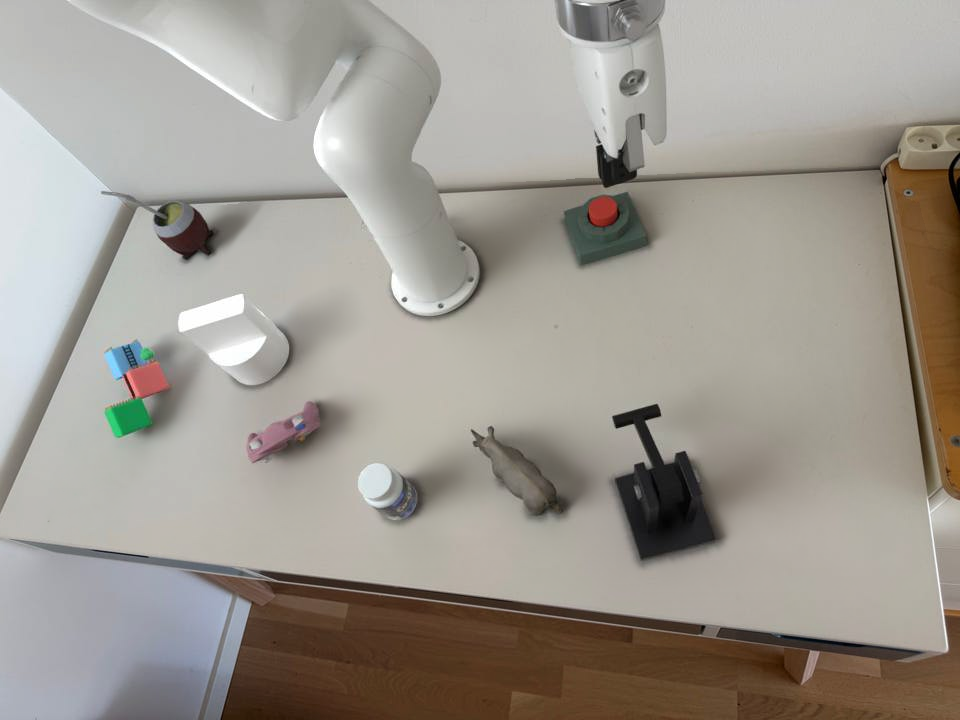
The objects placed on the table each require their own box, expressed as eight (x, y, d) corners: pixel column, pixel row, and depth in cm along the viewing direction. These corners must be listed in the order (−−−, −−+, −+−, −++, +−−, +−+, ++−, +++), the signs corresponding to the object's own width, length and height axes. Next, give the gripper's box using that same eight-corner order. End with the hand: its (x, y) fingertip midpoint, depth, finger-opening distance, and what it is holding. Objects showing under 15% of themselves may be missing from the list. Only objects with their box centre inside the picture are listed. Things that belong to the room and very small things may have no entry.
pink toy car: (266, 466, 85) (247, 471, 78) (249, 435, 86) (229, 438, 79) (332, 428, 86) (319, 430, 79) (315, 398, 86) (301, 397, 79)
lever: (613, 425, 72) (610, 410, 70) (658, 413, 71) (655, 397, 70) (647, 510, 62) (643, 494, 60) (699, 496, 61) (696, 480, 60)
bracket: (614, 481, 73) (610, 446, 63) (684, 462, 72) (692, 423, 62) (640, 561, 69) (640, 537, 59) (715, 542, 68) (728, 514, 58)
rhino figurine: (490, 425, 80) (480, 406, 74) (570, 504, 73) (565, 489, 68) (465, 448, 79) (453, 430, 74) (544, 530, 72) (537, 517, 67)
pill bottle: (413, 523, 76) (389, 505, 69) (376, 517, 77) (348, 498, 70) (422, 484, 78) (400, 462, 71) (386, 478, 79) (360, 456, 72)
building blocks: (164, 419, 96) (131, 343, 95) (181, 413, 90) (147, 332, 89) (108, 441, 91) (73, 361, 90) (123, 436, 85) (85, 350, 84)
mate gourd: (227, 239, 104) (168, 174, 91) (191, 274, 102) (125, 213, 89) (201, 220, 107) (141, 154, 94) (166, 254, 105) (99, 192, 92)
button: (586, 210, 87) (585, 201, 85) (612, 202, 86) (612, 193, 85) (594, 230, 85) (593, 222, 83) (621, 222, 85) (620, 213, 83)
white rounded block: (230, 392, 90) (177, 353, 80) (229, 338, 94) (179, 294, 84) (291, 374, 89) (245, 332, 79) (287, 321, 94) (243, 274, 83)
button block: (565, 221, 91) (562, 202, 88) (627, 201, 90) (627, 182, 87) (580, 265, 87) (578, 247, 84) (646, 245, 86) (646, 226, 83)
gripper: (706, 39, 41) (687, 223, 57) (624, -81, 48) (628, 111, 64) (591, 79, 42) (605, 250, 57) (528, -45, 49) (555, 137, 65)
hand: (617, 177), depth 61 cm, fingers closed
